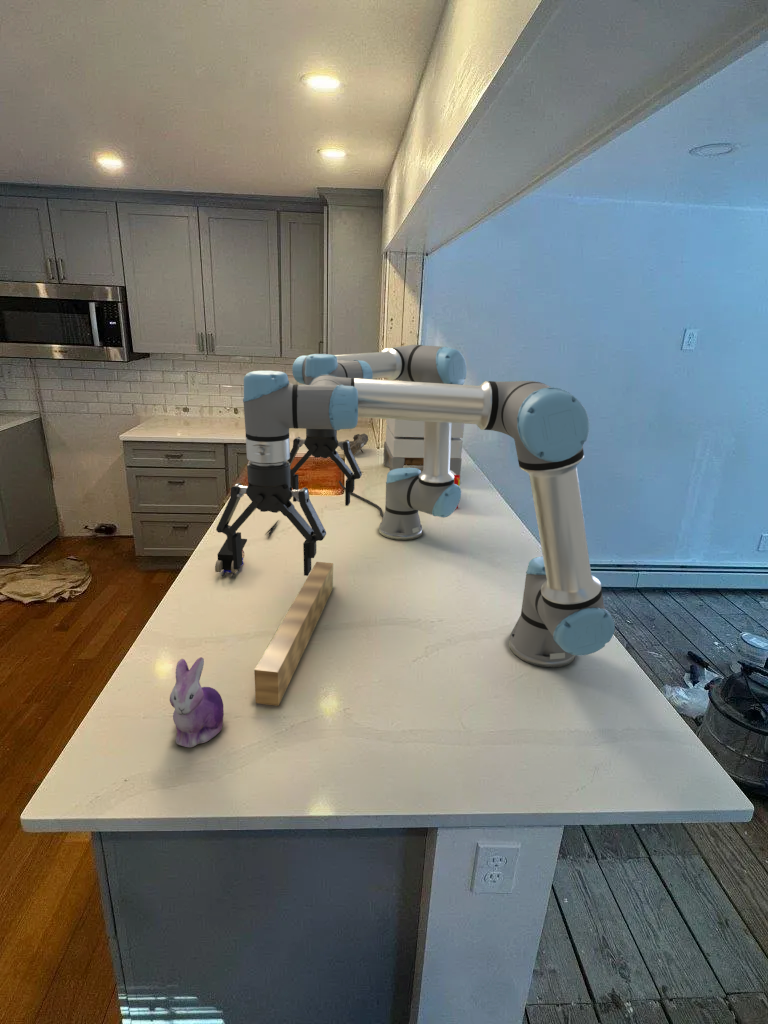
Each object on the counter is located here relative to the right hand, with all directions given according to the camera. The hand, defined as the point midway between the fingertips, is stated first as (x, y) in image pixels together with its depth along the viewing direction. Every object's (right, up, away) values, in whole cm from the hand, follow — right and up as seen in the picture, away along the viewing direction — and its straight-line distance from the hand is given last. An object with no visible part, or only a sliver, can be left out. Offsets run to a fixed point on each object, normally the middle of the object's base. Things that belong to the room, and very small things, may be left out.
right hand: (272, 569), depth 108 cm
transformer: (+38, +30, +167) cm, 174 cm away
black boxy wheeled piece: (-24, -6, +60) cm, 65 cm away
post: (+1, -19, +28) cm, 34 cm away
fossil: (+6, +43, +200) cm, 205 cm away
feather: (-17, +6, +96) cm, 98 cm away
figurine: (-13, -29, -3) cm, 32 cm away
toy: (+46, +17, +133) cm, 141 cm away
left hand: (+5, +14, +38) cm, 41 cm away
